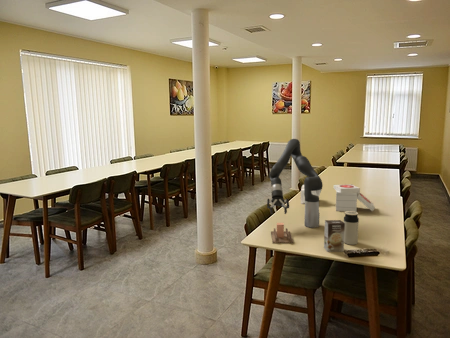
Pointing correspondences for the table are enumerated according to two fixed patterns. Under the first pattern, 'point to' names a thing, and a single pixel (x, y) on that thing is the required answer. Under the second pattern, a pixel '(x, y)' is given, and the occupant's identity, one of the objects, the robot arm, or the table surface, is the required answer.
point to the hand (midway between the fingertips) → (278, 213)
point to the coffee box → (334, 235)
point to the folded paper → (312, 193)
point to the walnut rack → (286, 238)
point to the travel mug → (351, 227)
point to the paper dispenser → (350, 198)
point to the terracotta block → (280, 230)
